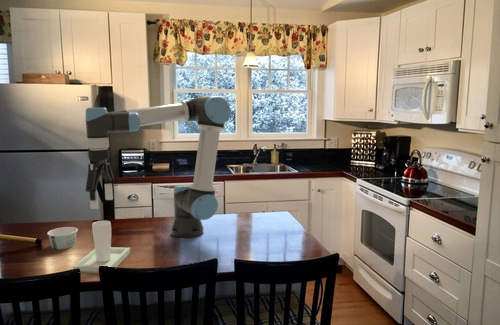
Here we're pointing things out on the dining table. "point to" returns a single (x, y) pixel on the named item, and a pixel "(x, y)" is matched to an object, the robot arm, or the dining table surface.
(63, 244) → the food container
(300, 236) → the dining table surface
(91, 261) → the tray
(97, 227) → the drinking glass
